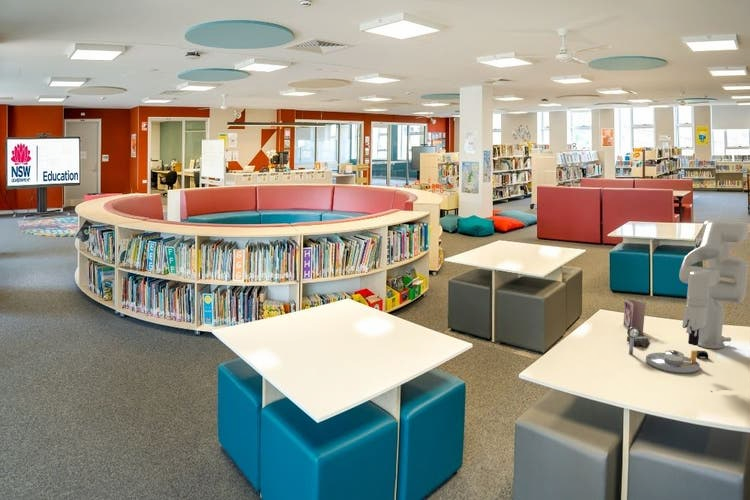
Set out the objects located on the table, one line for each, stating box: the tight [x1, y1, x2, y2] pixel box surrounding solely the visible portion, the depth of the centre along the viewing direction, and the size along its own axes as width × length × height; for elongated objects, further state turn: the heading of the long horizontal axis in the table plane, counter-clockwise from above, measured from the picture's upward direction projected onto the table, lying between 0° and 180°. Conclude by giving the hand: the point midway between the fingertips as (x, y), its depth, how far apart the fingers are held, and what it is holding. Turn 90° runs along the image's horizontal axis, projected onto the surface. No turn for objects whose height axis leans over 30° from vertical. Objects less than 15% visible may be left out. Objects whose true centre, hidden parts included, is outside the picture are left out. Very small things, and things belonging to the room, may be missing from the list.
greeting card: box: [622, 297, 646, 333], centre depth 279 cm, size 11×7×15 cm, turn 174°
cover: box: [664, 349, 685, 366], centre depth 229 cm, size 7×7×5 cm
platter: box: [645, 350, 701, 375], centre depth 230 cm, size 20×20×6 cm
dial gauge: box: [626, 327, 647, 355], centre depth 242 cm, size 9×6×14 cm, turn 93°
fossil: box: [626, 328, 651, 348], centre depth 256 cm, size 11×9×10 cm
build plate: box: [695, 350, 709, 360], centre depth 238 cm, size 12×7×5 cm, turn 76°
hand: (693, 344), depth 224 cm, fingers closed
